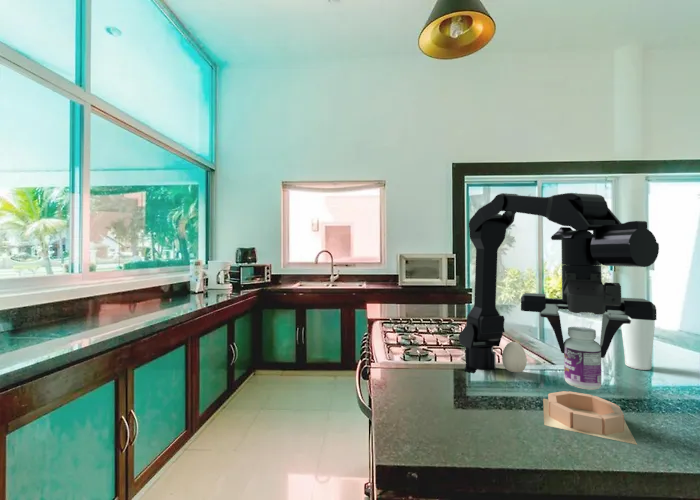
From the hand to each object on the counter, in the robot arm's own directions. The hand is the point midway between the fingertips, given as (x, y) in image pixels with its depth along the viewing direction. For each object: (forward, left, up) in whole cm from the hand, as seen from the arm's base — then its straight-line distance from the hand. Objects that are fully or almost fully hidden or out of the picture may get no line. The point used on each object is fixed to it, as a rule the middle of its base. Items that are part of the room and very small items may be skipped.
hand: (582, 354), depth 58 cm
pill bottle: (0, 0, -5) cm, 5 cm away
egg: (-12, +22, -12) cm, 28 cm away
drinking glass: (+16, +43, -12) cm, 47 cm away
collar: (0, 0, -11) cm, 11 cm away
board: (0, 0, -12) cm, 12 cm away
